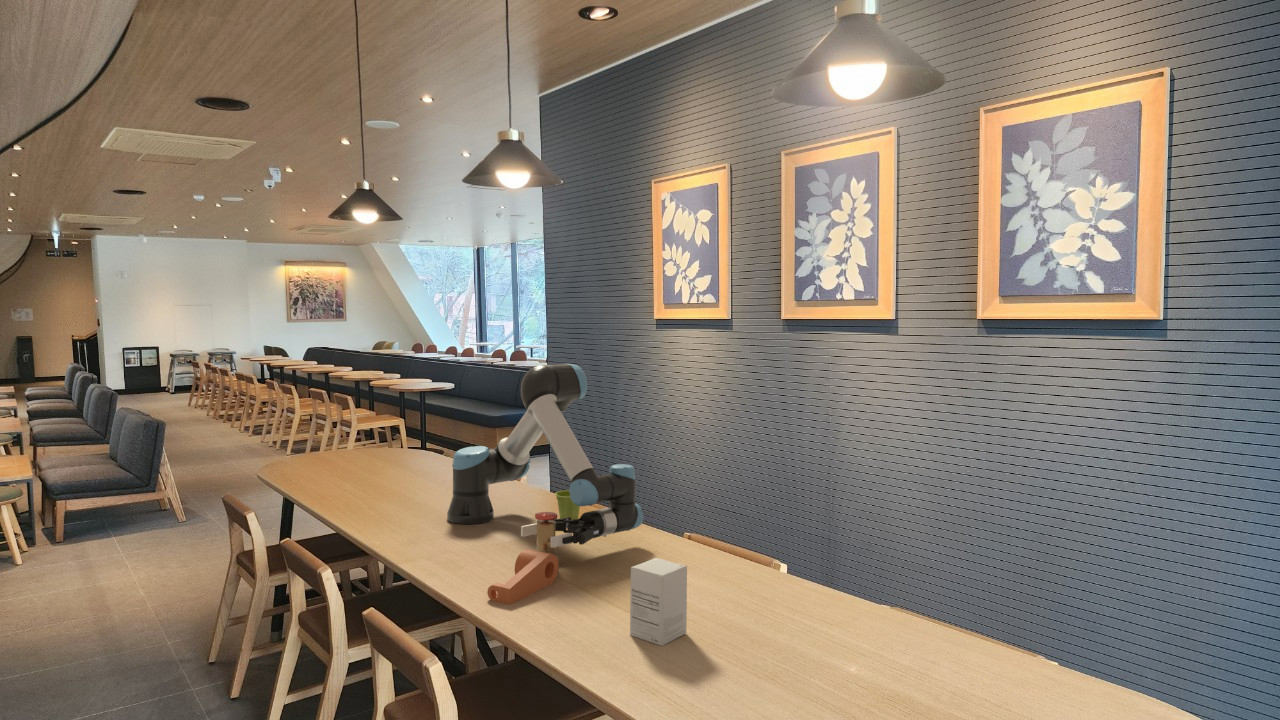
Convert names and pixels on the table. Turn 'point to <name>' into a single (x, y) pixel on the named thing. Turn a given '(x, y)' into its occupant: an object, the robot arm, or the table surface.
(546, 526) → the valve
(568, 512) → the plant pot
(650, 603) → the supplement box
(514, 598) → the orange holed part
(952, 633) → the table surface
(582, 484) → the robot arm
